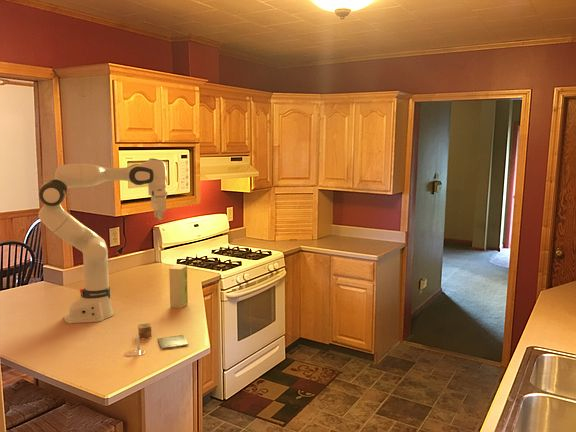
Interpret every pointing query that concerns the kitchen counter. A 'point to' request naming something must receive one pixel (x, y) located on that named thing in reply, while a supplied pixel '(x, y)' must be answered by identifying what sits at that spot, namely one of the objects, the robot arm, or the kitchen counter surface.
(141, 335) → the cube
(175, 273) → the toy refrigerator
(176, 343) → the trivet
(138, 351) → the unidentifiable
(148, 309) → the kitchen counter surface
